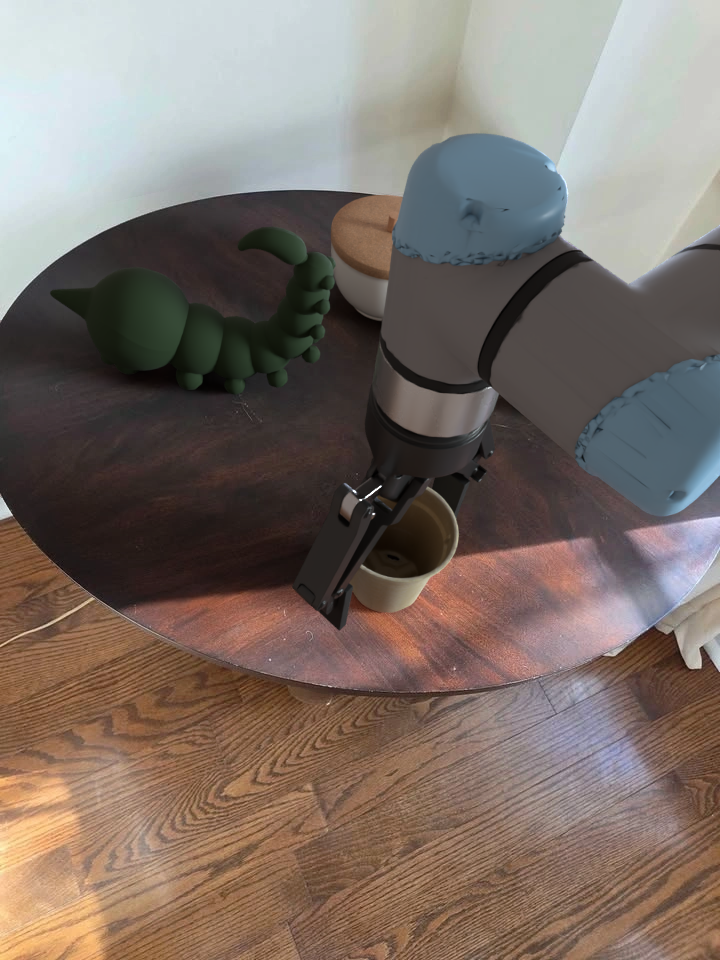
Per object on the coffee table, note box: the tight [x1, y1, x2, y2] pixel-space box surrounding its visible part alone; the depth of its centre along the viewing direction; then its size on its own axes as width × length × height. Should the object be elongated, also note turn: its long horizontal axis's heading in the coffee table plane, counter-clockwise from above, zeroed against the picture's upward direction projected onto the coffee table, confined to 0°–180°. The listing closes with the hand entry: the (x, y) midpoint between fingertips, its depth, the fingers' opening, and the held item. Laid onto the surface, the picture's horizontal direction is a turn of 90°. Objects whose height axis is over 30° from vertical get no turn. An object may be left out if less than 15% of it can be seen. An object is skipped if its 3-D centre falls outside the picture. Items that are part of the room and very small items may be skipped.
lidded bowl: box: [330, 194, 403, 322], centre depth 83 cm, size 13×13×11 cm
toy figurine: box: [49, 226, 336, 396], centre depth 71 cm, size 9×19×25 cm
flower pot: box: [350, 486, 460, 614], centre depth 63 cm, size 9×9×9 cm
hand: (387, 564), depth 64 cm, fingers open, 13 cm apart
